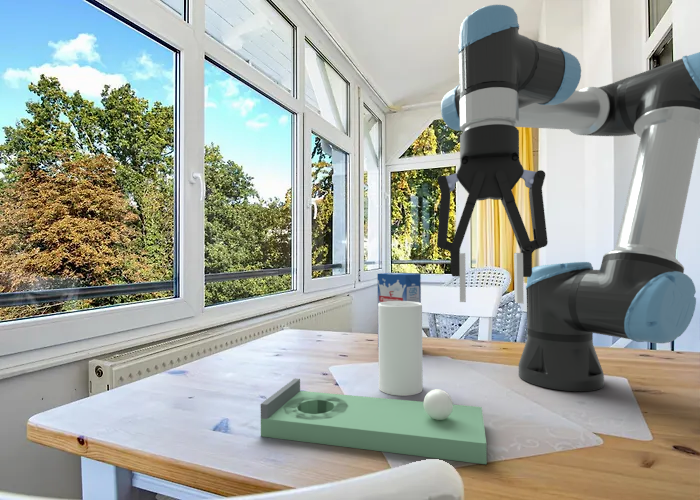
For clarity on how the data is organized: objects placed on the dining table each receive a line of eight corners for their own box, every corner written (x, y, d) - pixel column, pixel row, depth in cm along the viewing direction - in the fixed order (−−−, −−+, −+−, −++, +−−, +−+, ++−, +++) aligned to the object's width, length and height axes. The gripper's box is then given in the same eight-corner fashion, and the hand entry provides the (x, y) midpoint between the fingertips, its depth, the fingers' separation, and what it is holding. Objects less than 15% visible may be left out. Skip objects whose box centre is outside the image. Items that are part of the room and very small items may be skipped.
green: (481, 423, 60) (481, 393, 61) (486, 464, 49) (486, 426, 49) (294, 405, 68) (294, 378, 68) (260, 436, 57) (260, 404, 57)
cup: (412, 398, 71) (411, 307, 71) (371, 390, 75) (370, 304, 76) (429, 385, 78) (428, 302, 78) (390, 379, 82) (390, 300, 83)
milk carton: (377, 347, 110) (377, 273, 111) (392, 343, 115) (392, 272, 115) (406, 353, 103) (405, 274, 103) (421, 349, 107) (420, 273, 108)
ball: (453, 414, 58) (453, 386, 58) (452, 426, 54) (452, 396, 54) (424, 412, 59) (424, 384, 59) (422, 423, 55) (422, 393, 55)
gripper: (561, 132, 56) (563, 300, 56) (418, 143, 61) (420, 297, 61) (576, 114, 49) (578, 307, 48) (413, 128, 54) (414, 303, 54)
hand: (490, 301), depth 55 cm, fingers open, 6 cm apart
